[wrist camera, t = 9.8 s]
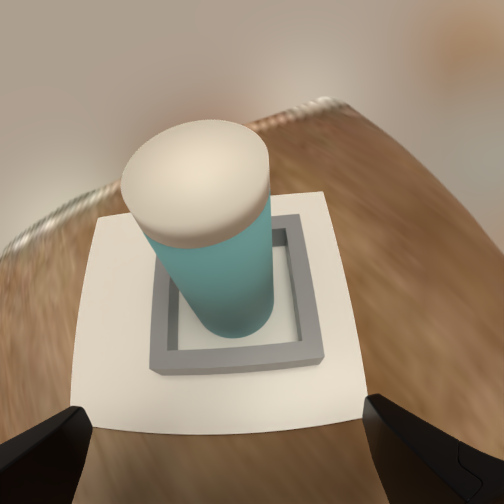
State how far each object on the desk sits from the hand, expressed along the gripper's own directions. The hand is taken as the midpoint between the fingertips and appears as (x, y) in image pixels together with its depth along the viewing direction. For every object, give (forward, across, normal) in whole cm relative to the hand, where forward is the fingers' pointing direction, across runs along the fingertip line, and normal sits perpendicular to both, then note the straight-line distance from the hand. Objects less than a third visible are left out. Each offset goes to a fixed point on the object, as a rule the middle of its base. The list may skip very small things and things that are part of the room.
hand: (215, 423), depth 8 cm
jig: (+12, +2, +1) cm, 12 cm away
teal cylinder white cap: (+11, 0, 0) cm, 11 cm away
